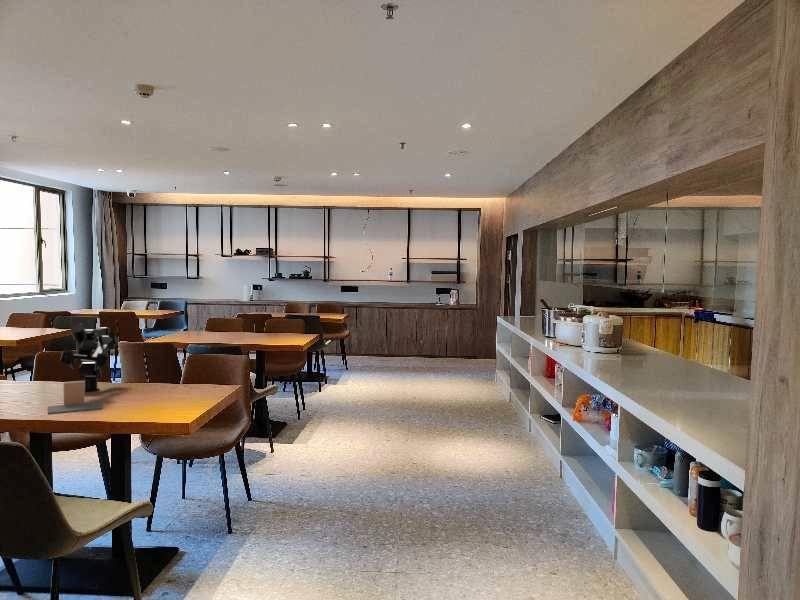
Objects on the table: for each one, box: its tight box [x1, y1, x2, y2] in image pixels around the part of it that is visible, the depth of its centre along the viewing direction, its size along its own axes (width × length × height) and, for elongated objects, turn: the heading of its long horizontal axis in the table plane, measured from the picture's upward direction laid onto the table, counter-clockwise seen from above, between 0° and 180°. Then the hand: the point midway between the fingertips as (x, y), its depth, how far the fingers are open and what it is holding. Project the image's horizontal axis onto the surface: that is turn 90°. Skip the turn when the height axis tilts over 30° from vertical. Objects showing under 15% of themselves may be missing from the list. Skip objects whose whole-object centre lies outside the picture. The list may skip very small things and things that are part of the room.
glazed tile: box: [62, 380, 85, 405], centre depth 256 cm, size 3×8×10 cm, turn 122°
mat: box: [47, 401, 103, 415], centre depth 248 cm, size 13×20×1 cm, turn 122°
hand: (84, 369), depth 265 cm, fingers open, 9 cm apart
